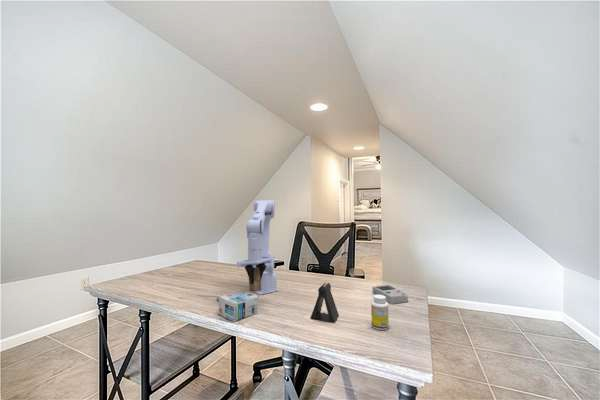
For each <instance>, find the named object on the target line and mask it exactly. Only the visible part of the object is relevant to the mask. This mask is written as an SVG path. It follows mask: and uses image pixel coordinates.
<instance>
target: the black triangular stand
mask: <svg viewBox="0 0 600 400" xmlns="http://www.w3.org/2000/svg"><path fill="white" fill-rule="evenodd" d="M331 288H332V286H331V284H330V283H329V282H327V283H326V282H324V283H323V284H322V285H321V286H319V287H318V290H317V292H318V296H317V298H316V301H315V304H314V307H313V310H312V313H311V316H310V320H313V321H318V322H319V321H320V322H327V323H331V324H335V323H336V322H337V320H338V318H339V311H338V309H337V306H336V302H335V300H334V297H333V293H332V290H331ZM323 303H324V304H325V306H326V312H327V313H325V312H324V313H323V312H321V311H322V308H323Z"/></svg>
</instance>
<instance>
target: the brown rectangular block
mask: <svg viewBox="0 0 600 400" xmlns="http://www.w3.org/2000/svg"><path fill="white" fill-rule="evenodd" d="M248 284H249V292H254V291H261V281H260V270H259V267H256V268H255V269H254V283H253V284H250V281H249V280H248Z"/></svg>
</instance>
